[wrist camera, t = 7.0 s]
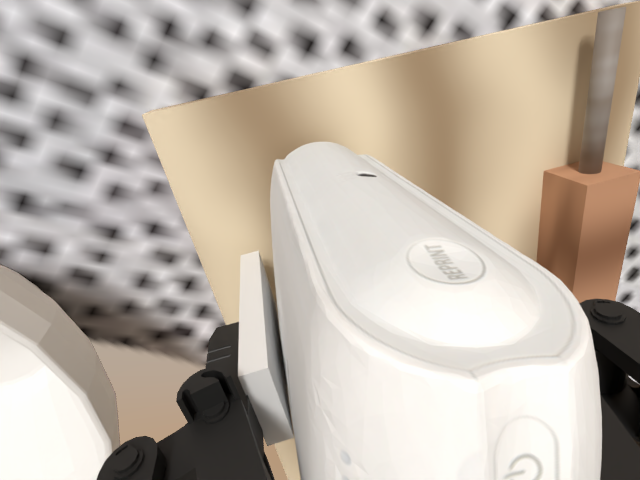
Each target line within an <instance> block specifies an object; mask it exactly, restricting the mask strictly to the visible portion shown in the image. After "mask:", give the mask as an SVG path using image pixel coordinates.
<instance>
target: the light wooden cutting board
mask: <svg viewBox="0 0 640 480" xmlns="http://www.w3.org/2000/svg"><path fill="white" fill-rule="evenodd" d="M620 7H626V13H625V19H624V26H623V33H622V39H621V46H620V52H619V59H618V65H617V72H616V78H615V85H614V91H613V98H612V104H611V111H610V117H609V124H608V130H607V137H606V143H605V150H604V157H603V161H604V162H608V163H612V164H616V165H620V166H624V160H625V155H626V149H627V144H628V138H629V133H630V127H631V122H632V116H633V111H634V105H635V99H636V94H637V88H638V83H639V77H640V1H635V2H629V3H624V4H618V5H614V6H609V7H605V8H601V9H596V10H592V11H587V12H583V13H579V14H574V15H570V16H565V17H561V18H557V19H552V20H548V21H543V22H539V23H535V24H530V25H526V26H521V27H517V28H513V29H508V30H504V31H499V32H495V33H491V34H486V35H482V36H477V37H473V38H469V39H464V40H460V41H455V42H451V43H447V44H442V45H438V46H433V47H429V48H425V49H420V50H416V51H411V52H407V53H403V54H398V55H394V56H389V57H385V58H381V59H376V60H372V61H367V62H363V63H359V64H354V65H350V66H345V67H341V68H337V69H332V70H328V71H323V72H319V73H315V74H310V75H306V76H301V77H297V78H293V79H288V80H284V81H279V82H275V83H271V84H266V85H262V86H257V87H253V88H249V89H244V90H240V91H235V92H231V93H227V94H222V95H218V96H213V97H209V98H205V99H200V100H196V101H191V102H187V103H183V104H178V105H174V106H169V107H165V108H161V109H156V110H152V111H150V112H147V113H145V114H143V115H142V116H143V119H144V121H145V124H146V126H147V129H148V131H149V134H150V136H151V139H152V141H153V144H154V146H155V149H156V151H157V154H158V156H159V159H160V161H161V164H162V166H163V169H164V171H165V174H166V176H167V179H168V181H169V184H170V186H171V189H172V191H173V194H174V196H175V199H176V201H177V204H178V206H179V209H180V211H181V213H182V216H183V218H184V221H185V223H186V226H187V228H188V231H189V233H190V236H191V238H192V241H193V243H194V246H195V248H196V251H197V253H198V256H199V258H200V261H201V263H202V266H203V268H204V271H205V273H206V276H207V278H208V281H209V283H210V286H211V288H212V291H213V293H214V296H215V298H216V301H217V303H218V306H219V308H220V311H221V313H222V316H223V318H224V321H225V323H226V325H229V324H232V323H236V322H239V302H240V257H241V255H244V254H248V253H251V252H255V251H259V253H260V256H261V259H262V262H263V265H264V268H265V271H266V274H267V278H268V281H269V284H270V287H271V290H272V293H273V296H274V299H275V302H276V308H277V298H276V287H275V277H274V264H273V249H272V234H271V214H270V189H271V178H272V172H273V166H274V162H275V160H277V159H280V160H284V159H285V158H286V156H287V155H288V154H289V153H291V152H292V151H294V150H295V149H297V148H299V147H301V146H303V145H305V144H309V143H312V142H333V143H337V144H340V145H342V146H344V147H346V148H348V149H350V150H351V151H353V152H354V153H355V154H357V155H363V154H367V155H370V156H372V157H374V158H375V159H377V160H378V161H380V162H381V163H383V164H384V165H386V166H387V167H389V168H390V169H392V170H393V171H395V172H396V173H398V174H399V175H401V176H403V177H404V178H406V179H407V180H409V181H410V182H412V183H413V184H415V185H416V186H418V187H419V188H421V189H423V190H424V191H426V192H427V193H429V194H430V195H432V196H433V197H435V198H436V199H438V200H440V201H441V202H443V203H444V204H446V205H447V206H449V207H450V208H452V209H453V210H455V211H457V212H458V213H460V214H462V215H463V216H465V217H466V218H468V219H469V220H471V221H472V222H474V223H475V224H477V225H478V226H480V227H481V228H483V229H485V230H486V231H488V232H490V233H491V234H492V235H494V236H495V237H497V238H498V239H500V240H502V241H503V242H505V243H507V244H508V245H510V246H511V247H513V248H514V249H516V250H517V251H519V252H520V253H522V254H523V255H525V256H527V257H529V258H530V259H532V260H534V261H535V262H536V260H537V248H538V235H539V223H540V210H541V198H542V185H543V173H544V171H545V170H549V169H552V168H556V167H560V166H564V165H568V164H572V163H575V162H579V161H580V153H581V145H582V137H583V129H584V121H585V113H586V105H587V96H588V88H589V80H590V72H591V64H592V56H593V48H594V40H595V32H596V24H597V16H598V12H600V11H605V10H610V9H615V8H620ZM277 315H278V309H277ZM278 323H279V319H278ZM279 330H280V328H279ZM280 338H281V337H280ZM288 398H289V397H288ZM289 405H290V404H289ZM290 413H291V411H290ZM291 420H292V418H291ZM292 427H293V424H292ZM293 435H294V431H293ZM274 445H275V448H276V450H277V453H278V455H279V458H280V460H281V463H282V465H283V468H284V470H285V473H286V475H287V478H288V480H301V479H300V472H299V465H298V458H297V452H296V445H295V438H291V439H288V440H285V441H282V442H279V443H275V444H274Z"/></svg>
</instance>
